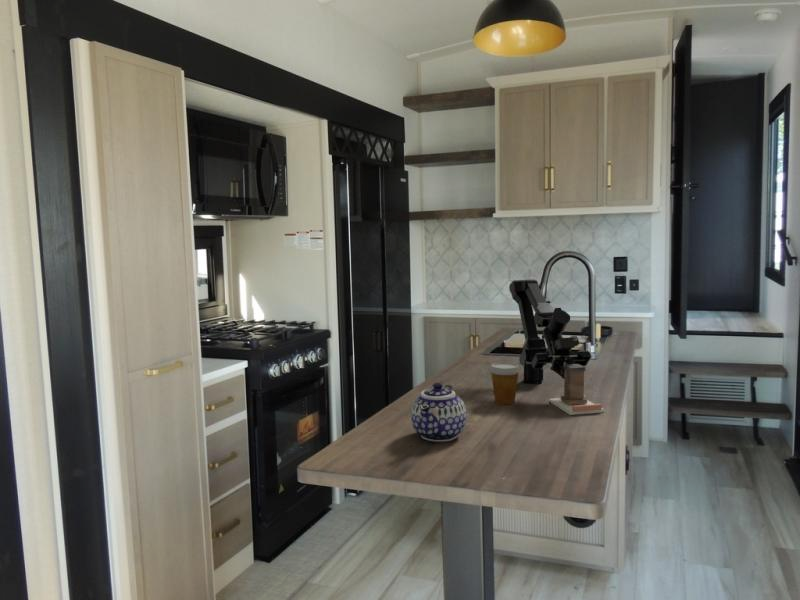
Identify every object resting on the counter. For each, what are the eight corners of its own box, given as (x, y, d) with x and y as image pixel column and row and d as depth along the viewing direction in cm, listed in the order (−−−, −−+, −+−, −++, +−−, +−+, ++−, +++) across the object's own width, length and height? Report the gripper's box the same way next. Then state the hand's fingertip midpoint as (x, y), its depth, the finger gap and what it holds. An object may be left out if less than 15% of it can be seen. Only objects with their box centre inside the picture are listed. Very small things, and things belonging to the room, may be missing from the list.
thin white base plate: (549, 401, 215) (549, 394, 214) (581, 399, 217) (581, 392, 216) (570, 415, 200) (570, 406, 199) (604, 412, 202) (604, 404, 202)
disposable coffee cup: (523, 399, 218) (523, 363, 216) (515, 407, 209) (515, 369, 208) (494, 397, 222) (494, 361, 220) (486, 404, 213) (486, 367, 212)
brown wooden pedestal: (560, 399, 212) (561, 364, 211) (578, 398, 213) (578, 363, 212) (569, 404, 206) (569, 368, 205) (587, 403, 207) (587, 367, 206)
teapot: (430, 420, 197) (430, 371, 195) (479, 426, 190) (479, 375, 189) (394, 446, 174) (393, 390, 172) (448, 453, 168) (448, 396, 166)
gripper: (535, 328, 214) (549, 369, 204) (589, 326, 217) (605, 366, 208) (525, 348, 222) (538, 388, 213) (577, 345, 226) (593, 385, 216)
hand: (569, 381), depth 212 cm, fingers closed
